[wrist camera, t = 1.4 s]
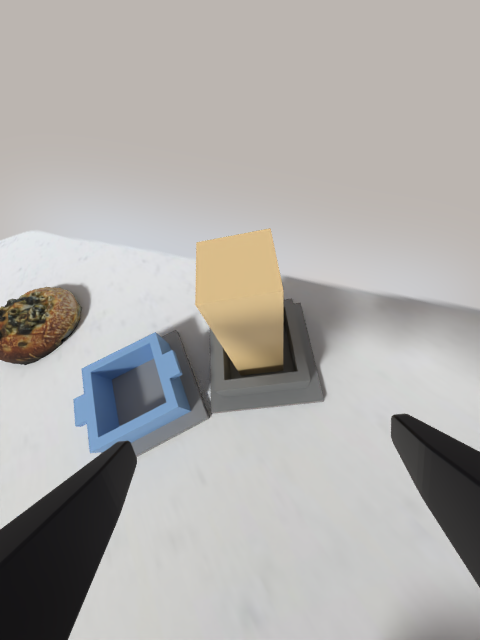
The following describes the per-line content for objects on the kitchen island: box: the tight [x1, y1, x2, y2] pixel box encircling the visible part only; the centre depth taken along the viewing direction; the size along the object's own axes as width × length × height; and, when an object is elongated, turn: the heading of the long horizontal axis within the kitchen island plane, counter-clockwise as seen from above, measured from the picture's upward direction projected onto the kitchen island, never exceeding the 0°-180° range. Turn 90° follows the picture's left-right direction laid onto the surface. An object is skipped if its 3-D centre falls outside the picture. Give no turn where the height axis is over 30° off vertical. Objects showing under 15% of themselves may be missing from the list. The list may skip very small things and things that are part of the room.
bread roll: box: [0, 287, 82, 365], centre depth 29 cm, size 11×11×5 cm
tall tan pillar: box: [195, 229, 283, 376], centre depth 17 cm, size 4×4×13 cm
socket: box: [210, 299, 324, 413], centre depth 21 cm, size 10×10×4 cm
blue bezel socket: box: [74, 330, 209, 457], centre depth 21 cm, size 10×10×4 cm
